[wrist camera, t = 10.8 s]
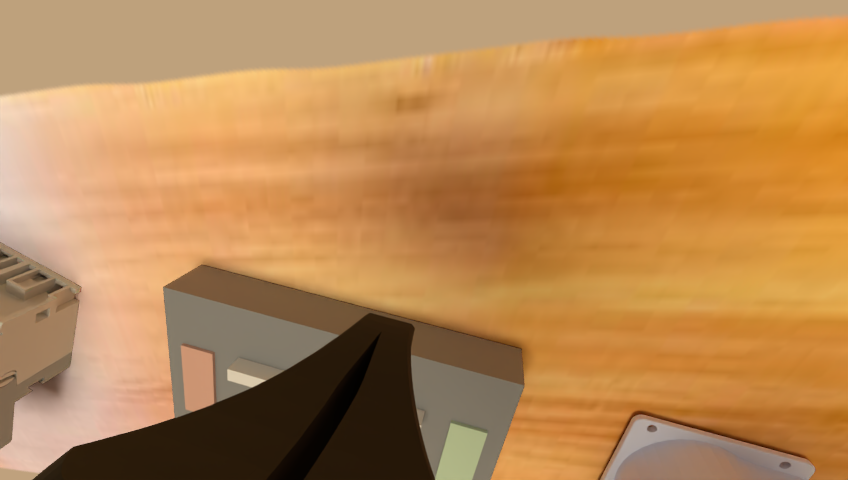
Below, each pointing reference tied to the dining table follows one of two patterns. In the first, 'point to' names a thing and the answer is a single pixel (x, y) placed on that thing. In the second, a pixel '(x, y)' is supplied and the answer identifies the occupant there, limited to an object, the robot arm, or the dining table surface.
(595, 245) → the dining table surface
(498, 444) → the slider control box
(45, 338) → the circuit breaker
